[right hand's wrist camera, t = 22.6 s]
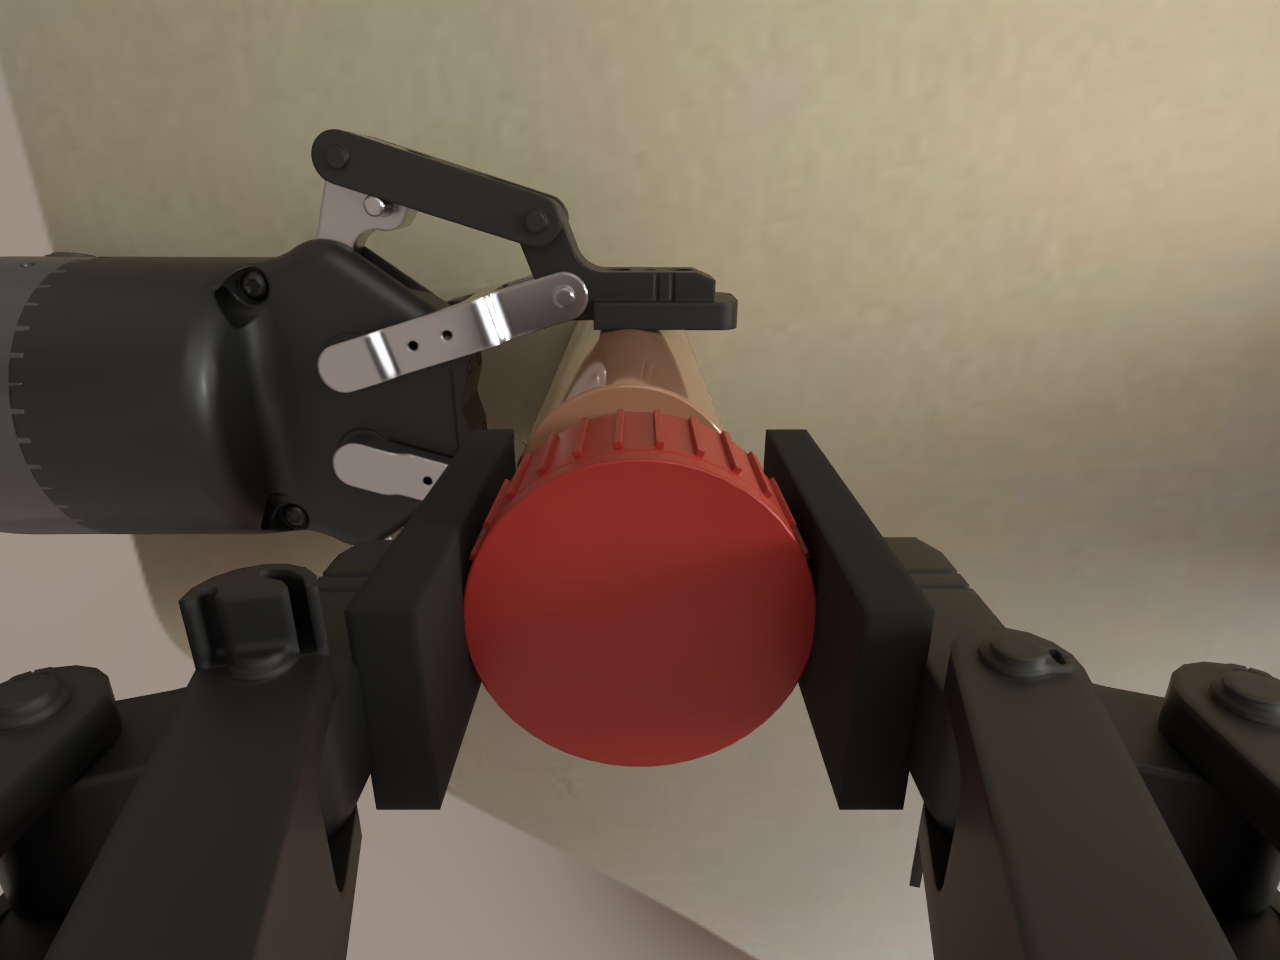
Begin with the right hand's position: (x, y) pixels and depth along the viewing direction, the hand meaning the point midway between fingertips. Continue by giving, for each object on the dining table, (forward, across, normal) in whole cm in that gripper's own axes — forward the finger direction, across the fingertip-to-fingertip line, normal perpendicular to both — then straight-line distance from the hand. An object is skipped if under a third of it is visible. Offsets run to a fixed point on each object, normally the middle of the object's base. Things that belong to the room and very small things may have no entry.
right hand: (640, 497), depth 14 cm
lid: (-4, 0, 0) cm, 4 cm away
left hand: (+7, -2, 0) cm, 7 cm away
